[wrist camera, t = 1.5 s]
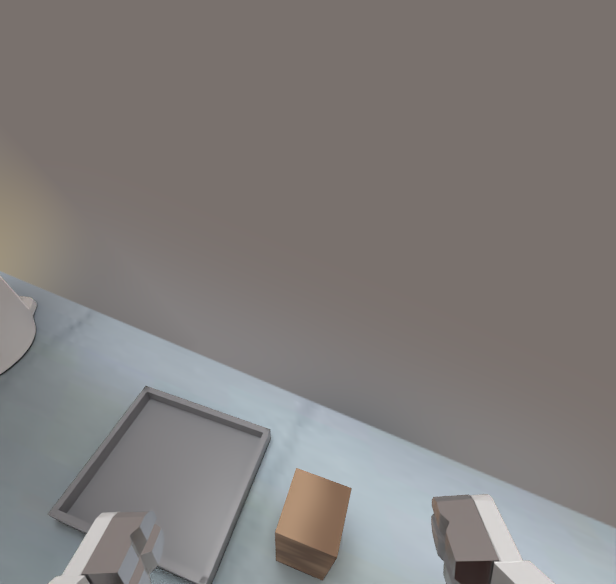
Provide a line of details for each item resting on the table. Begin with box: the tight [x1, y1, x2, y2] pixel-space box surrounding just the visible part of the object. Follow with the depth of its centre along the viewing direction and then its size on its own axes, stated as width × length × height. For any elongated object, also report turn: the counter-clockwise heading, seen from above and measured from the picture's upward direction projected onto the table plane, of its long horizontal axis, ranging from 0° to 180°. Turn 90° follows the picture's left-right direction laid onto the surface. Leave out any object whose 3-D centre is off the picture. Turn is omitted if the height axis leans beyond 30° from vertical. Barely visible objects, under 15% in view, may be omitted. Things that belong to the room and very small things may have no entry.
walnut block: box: [275, 468, 351, 580], centre depth 29 cm, size 4×4×11 cm
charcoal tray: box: [48, 386, 271, 584], centre depth 35 cm, size 16×14×2 cm
